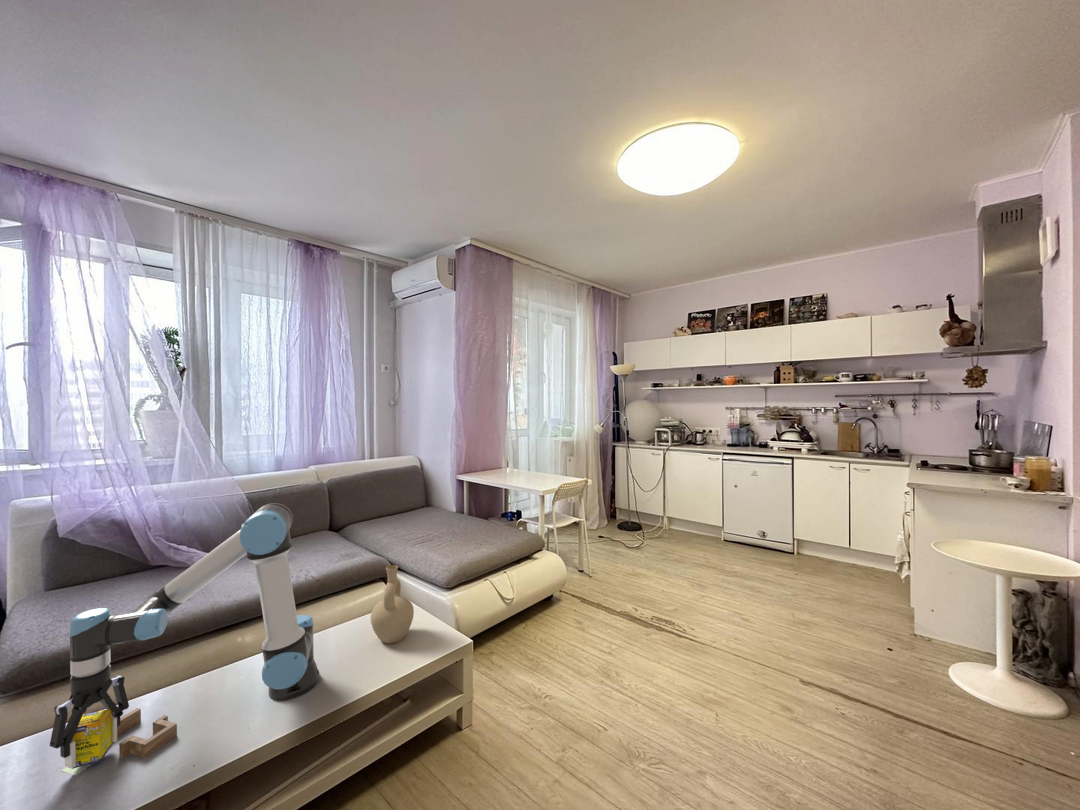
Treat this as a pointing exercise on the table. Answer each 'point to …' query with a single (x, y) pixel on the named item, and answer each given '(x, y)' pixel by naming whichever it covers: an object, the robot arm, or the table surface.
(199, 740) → the table surface
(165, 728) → the tunnel rails
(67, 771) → the pad
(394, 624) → the vase
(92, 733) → the supplement box
